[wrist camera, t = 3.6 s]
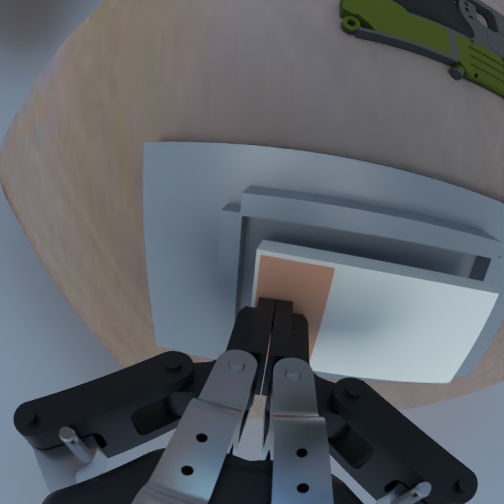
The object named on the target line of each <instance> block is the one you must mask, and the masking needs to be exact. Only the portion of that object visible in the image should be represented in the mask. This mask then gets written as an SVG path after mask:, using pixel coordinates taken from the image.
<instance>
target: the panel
mask: <svg viewBox="0 0 504 504" xmlns="http://www.w3.org/2000/svg"><path fill="white" fill-rule="evenodd" d="M143 220H144V240H145V254H146V267H147V277H148V287H149V295H150V304H151V311H152V318H153V325H154V332H155V338H156V344H157V346H160V347H164V348H168V349H171V350H175V351H179V352H183V353H187V354H191V355H195V356H200V357H204V358H209V359H213V360H217V358H218V357H219V356H220V355H221V354H222V353H224V352H225V351H226V348H227V345H228V342H229V339H230V336H231V333H232V330H233V328H234V324H235V321H236V318H237V315H238V312H239V311H240V310H241V309H243V308H244V307H245V306H248V307H251V301H252V291H253V281H254V271H255V261H256V251H257V248H258V247H259V245H260V244H261V242H262V241H263V240H268V241H274V242H280V243H286V244H291V245H297V246H303V247H308V248H314V249H319V250H325V251H330V252H336V253H341V254H347V255H352V256H357V257H363V258H368V259H373V260H379V261H384V262H389V263H394V264H399V265H405V266H410V267H415V268H420V269H425V270H430V271H435V272H440V273H445V274H450V275H455V276H460V277H465V278H469V279H474V280H479V281H484V282H488V283H490V284H491V285H492V286H493V288H494V289H495V290H496V291H497V292H498V293H499V295H498V298H497V300H496V302H495V304H494V306H493V309H492V311H491V313H490V315H489V317H488V319H487V321H486V323H485V325H484V327H483V329H482V331H481V332H480V334H479V336H478V338H477V340H476V341H475V343H474V345H473V347H472V348H471V350H470V352H469V353H468V355H467V357H466V358H465V360H464V362H463V363H462V365H461V366H460V368H459V369H458V371H457V372H456V374H455V375H454V377H464V376H470V374H471V373H472V371H473V370H474V368H475V367H476V365H477V364H478V362H479V361H480V359H481V358H482V356H483V354H484V353H485V351H486V349H487V348H488V346H489V344H490V343H491V341H492V339H493V337H494V336H495V334H496V332H497V330H498V328H499V326H500V324H501V322H502V320H503V318H504V203H503V202H500V201H498V200H495V199H493V198H490V197H488V196H485V195H482V194H480V193H477V192H474V191H471V190H469V189H466V188H463V187H460V186H457V185H454V184H451V183H448V182H444V181H441V180H438V179H435V178H431V177H428V176H424V175H421V174H417V173H413V172H409V171H406V170H402V169H398V168H394V167H389V166H385V165H381V164H376V163H372V162H367V161H362V160H357V159H352V158H347V157H341V156H336V155H330V154H324V153H318V152H311V151H304V150H297V149H289V148H280V147H271V146H261V145H250V144H237V143H220V142H195V141H155V142H143ZM266 364H267V361H266ZM266 364H265V370H266ZM265 370H264V371H265ZM313 372H314V373H315V374H316V375H317V376H319V377H320V378H329V379H343V378H348V377H352V378H357V379H360V380H362V381H391V380H380V379H370V378H361V377H353V376H345V375H338V374H331V373H325V372H318V371H313Z"/></svg>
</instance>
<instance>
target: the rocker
mask: <svg viewBox="0 0 504 504" xmlns="http://www.w3.org/2000/svg"><path fill="white" fill-rule="evenodd" d="M498 295H499V293H498V292H497V291H496V290H495V289H494V288H493V286H492V285H491V284H490V283H488V282H484V281H479V280H474V279H469V278H465V277H460V276H455V275H450V274H445V273H440V272H435V271H430V270H425V269H420V268H415V267H410V266H405V265H399V264H394V263H389V262H384V261H379V260H373V259H368V258H363V257H357V256H352V255H347V254H341V253H336V252H330V251H325V250H319V249H314V248H308V247H303V246H297V245H291V244H286V243H280V242H274V241H268V240H263V241H262V242H261V244H260V245H259V247H258V248H257V251H256V261H255V271H254V281H253V291H252V301H251V307H255V308H257V303H258V299H259V297H264V298H270V299H275V305H274V312H273V319H274V313H275V307H276V301H277V299H278V300H285V301H293V313H298V314H303V315H304V316H305V318H306V319H307V321H308V332H309V363H310V366H311V368H312V370H313V371H318V372H325V373H331V374H338V375H345V376H353V377H361V378H370V379H380V380H391V381H404V382H423V383H449V382H450V381H451V380H452V378H453V377H454V375H455V374H456V372H457V371H458V369H459V368H460V366H461V365H462V363H463V362H464V360H465V358H466V357H467V355H468V353H469V352H470V350H471V348H472V347H473V345H474V343H475V341H476V340H477V338H478V336H479V334H480V332H481V331H482V329H483V327H484V325H485V323H486V321H487V319H488V317H489V315H490V313H491V311H492V309H493V306H494V304H495V302H496V300H497V298H498ZM273 319H272V325H273ZM271 331H272V326H271ZM270 338H271V333H270ZM269 344H270V340H269ZM268 351H269V346H268ZM267 358H268V353H267ZM266 361H267V359H266Z"/></svg>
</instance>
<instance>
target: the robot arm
mask: <svg viewBox="0 0 504 504" xmlns="http://www.w3.org/2000/svg"><path fill="white" fill-rule="evenodd" d="M274 305H275V299H270V298H264V297H259V299H258V303H257V308H255V307H248V306H245V307H244V308H243V309H241V310H240V311H239V312H238V315H237V318H236V321H235V324H234V328H233V330H232V333H231V336H230V339H229V342H228V345H227V348H226V351H225V352H224V353H222V354H221V355H220V356H219V357H218V358H217V360H214V361H211V362H202V363H193V361H192V359H191V358H190V357H189V356H188V355H186V354H184V353H182V352H178V351H169V352H165V353H162V354H160V355H157V356H155V357H152V358H150V359H147V360H145V361H142V362H140V363H137V364H135V365H132V366H130V367H127V368H125V369H122V370H119V371H117V372H114V373H111V374H109V375H106V376H104V377H101V378H98V379H95V380H92V381H90V382H87V383H84V384H81V385H78V386H75V387H72V388H69V389H66V390H63V391H61V392H58V393H55V394H51V395H48V396H45V397H42V398H38V399H35V400H32V401H28V402H25V403H23V404H21V405H20V406H19V407H18V408H17V410H16V411H15V414H14V425H15V427H16V429H17V430H18V431H19V432H20V433H21V435H22V436H23V437H24V438H25V439H26V440H27V441H28V443H29V444H30V445H31V446H32V447H33V449H34V452H35V456H36V459H37V461H38V464H39V467H40V470H41V472H42V475H43V478H44V480H45V482H46V485H47V487H48V490H49V492H50V494H49V495H48V496H47V497H46V498H45V500H44V501H43V503H42V504H363V503H362V501H360V499H359V498H358V497H357V496H356V495H355V494H354V493H353V492H352V491H351V490H350V489H349V488H348V487H347V486H346V484H345V483H344V482H343V481H341V480H340V479H339V478H337V477H336V476H334V475H333V474H331V467H330V456H329V454H330V455H331V456H332V457H333V458H334V459H335V460H336V461H337V462H338V463H339V464H340V465H341V466H342V467H343V468H344V469H345V470H346V471H347V472H348V473H349V474H350V475H351V476H352V477H353V478H354V479H355V480H356V481H357V482H358V483H359V484H360V485H361V486H362V487H363V488H364V489H365V490H366V491H367V492H368V493H369V494H370V495H371V496H372V497H373V498H374V499H375V500H377V502H376V504H465V503H466V502H468V501H469V500H470V499H472V498H473V496H474V495H475V493H476V490H477V486H478V482H477V478H476V476H475V474H474V472H472V471H471V470H470V469H469V468H467V467H466V466H465V465H464V464H462V463H461V462H460V461H459V460H457V459H456V458H455V457H454V456H452V455H451V454H450V453H448V452H447V451H446V450H445V449H444V448H443V447H441V446H440V445H439V444H438V443H436V442H435V441H434V440H433V439H432V438H430V437H429V436H428V435H426V434H425V433H424V432H423V431H422V430H421V429H419V428H418V427H417V426H416V425H415V424H413V423H412V422H411V421H410V420H409V419H407V418H406V417H405V416H404V415H403V414H402V413H400V412H399V411H398V410H397V409H396V408H394V407H393V406H392V405H391V404H390V403H389V402H387V401H386V400H385V399H384V398H383V397H382V396H380V395H379V394H378V393H377V392H376V391H375V390H373V389H372V388H371V387H370V386H369V385H368V384H366V383H365V382H364V381H362V380H360V379H357V378H352V377H348V378H343V379H341V380H339V381H338V382H337V383H333V382H330V381H327V380H325V379H322V378H320V377H319V376H317V375H316V374H315V373H314V372H313V370H312V368H311V366H310V363H309V332H308V321H307V319H306V318H305V316H304V315H303V314H298V313H293V301H285V300H278V299H277V301H276V307H275V313H274V319H273V312H274ZM272 319H273V325H272ZM271 326H272V331H271ZM270 333H271V338H270ZM269 340H270V344H269ZM268 346H269V351H268ZM267 353H268V358H267ZM266 359H267V364H266ZM265 364H266V370H265ZM264 370H265V377H264V383H263V389H262V395H264V396H267V398H266V405H265V409H264V417H263V434H262V449H261V456H260V460H259V461H258V460H257V461H248V460H245V459H242V458H240V457H237V451H238V448H239V444H240V441H241V438H242V435H243V432H244V428H245V425H246V422H247V419H248V416H249V412H250V408H251V407H252V405H253V401H254V396H255V394H257V395H260V391H261V386H262V381H263V375H264ZM175 428H176V430H175V432H174V434H173V435H172V437H171V439H170V441H169V443H168V445H167V447H166V448H162V449H158V450H155V451H152V452H149V453H147V454H145V455H143V456H141V457H139V458H137V459H135V460H132V461H130V462H128V463H126V464H124V465H122V466H120V467H117V468H115V469H113V470H110V471H108V472H106V473H103V474H101V473H102V472H103V471H104V470H105V468H106V467H107V462H108V461H107V458H110V457H113V456H115V455H117V454H120V453H123V452H125V451H127V450H130V449H132V448H134V447H136V446H138V445H141V444H143V443H146V442H148V441H150V440H152V439H154V438H156V437H158V436H160V435H162V434H164V433H167V432H169V431H170V430H173V429H175ZM99 474H101V475H99ZM97 475H98V476H97ZM95 476H96V477H95Z"/></svg>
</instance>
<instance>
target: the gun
mask: <svg viewBox="0 0 504 504" xmlns="http://www.w3.org/2000/svg"><path fill="white" fill-rule="evenodd" d="M475 11H477V12H479V13H480V14H482V15H484V17H485V18H486V20H487V23H488V27H489V29H488V28H487V27H485V26H484V25H482V24H481V23H480V21H478V19H477V16H476V12H475ZM340 16H341V17H343V18H344V19H343V21H342V23H341V25H342V28H343V29H344V30H345V31H347V32H349V33H354V36H355V37H357V38H362V39H366V40H371V41H375V42H379V43H383V44H387V45H391V46H394V47H398V48H401V49H404V50H408V51H411V52H414V53H417V54H420V55H423V56H426V57H428V58H431V59H434V60H436V61H439V62H442V63H444V64H447V65H451V66H452V67H453V68H452V69H451V70H450V71H449V73H450V75H451V76H452V77H453V78H454V79H456V80H461V79H462V78H463V77H465V78H467V79H468V80H471V81H473V82H475V83H478V84H480V85H482V86H484V87H485V88H487V89H489V90H491V91H493V92H495V93H497V94H498V95H500V96H502V97H504V16H502V15H501V14H500V13H498V12H497V11H495V10H494V9H492V8H491V7H489V6H488V5H486V4H484V3H483V2H481V1H479V0H457V2H456V5H455V2H454V0H341V1H340ZM348 23H352V24H353V25H354V26H350V25H348Z"/></svg>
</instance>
